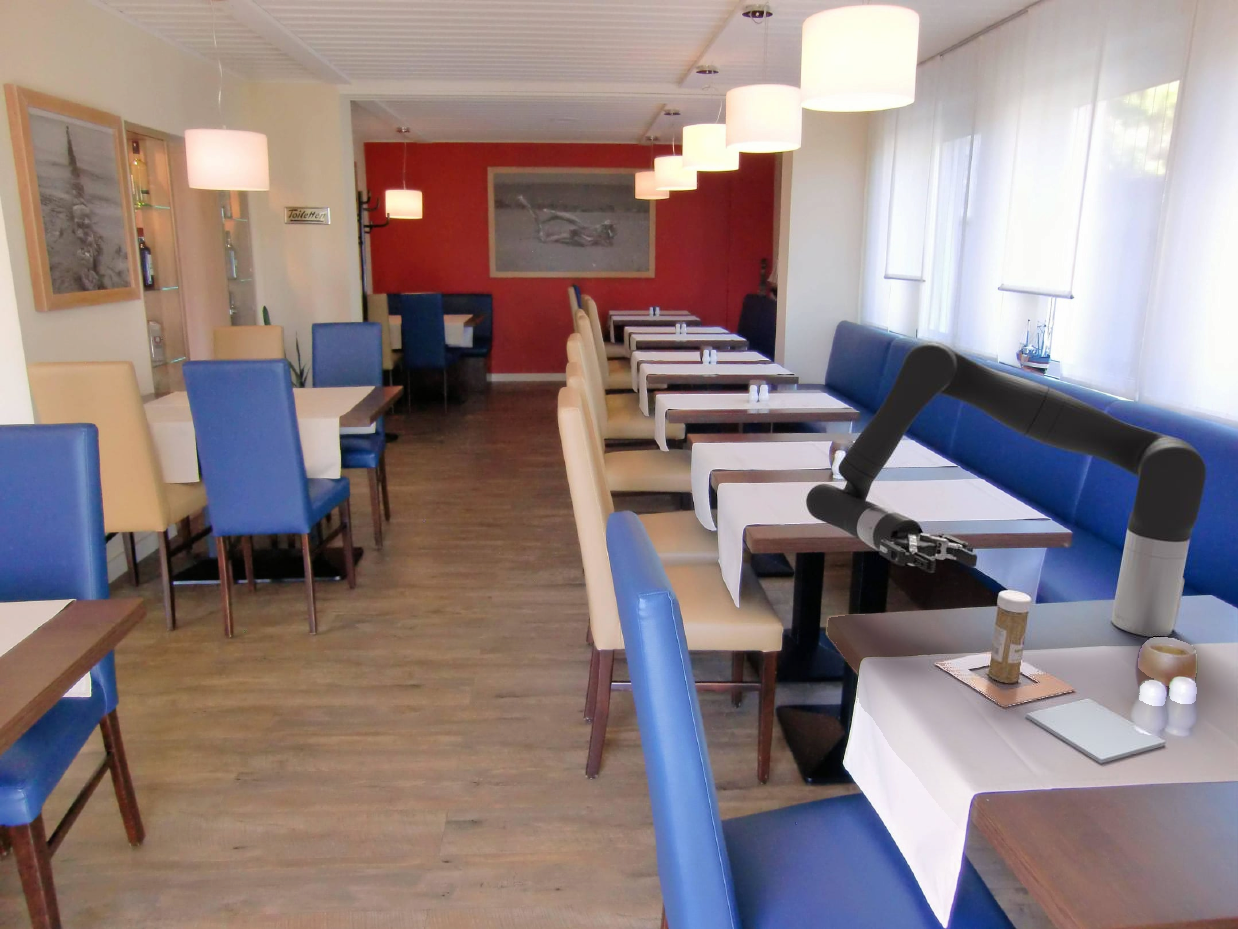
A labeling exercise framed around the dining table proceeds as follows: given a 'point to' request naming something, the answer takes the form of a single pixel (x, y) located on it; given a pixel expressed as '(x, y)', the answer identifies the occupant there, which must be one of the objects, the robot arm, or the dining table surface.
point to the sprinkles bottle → (1009, 636)
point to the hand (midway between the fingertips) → (954, 564)
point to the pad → (1094, 730)
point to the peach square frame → (1017, 695)
